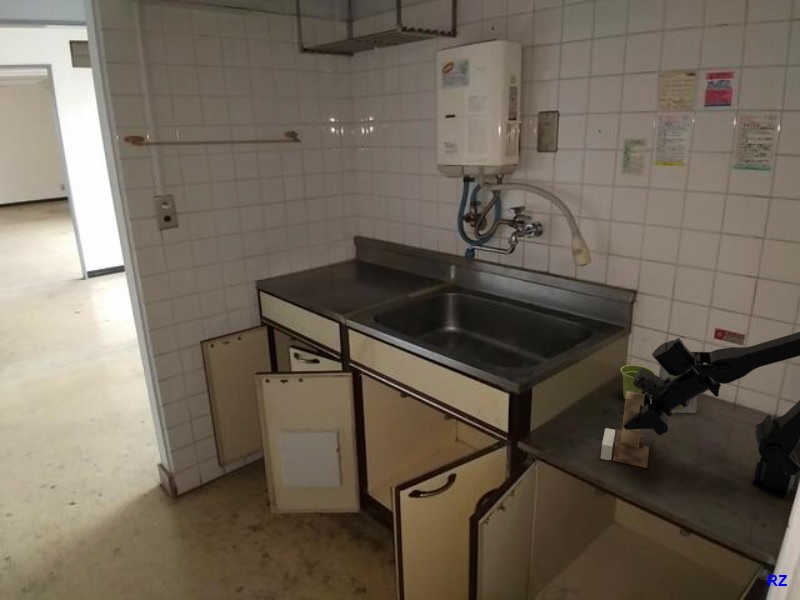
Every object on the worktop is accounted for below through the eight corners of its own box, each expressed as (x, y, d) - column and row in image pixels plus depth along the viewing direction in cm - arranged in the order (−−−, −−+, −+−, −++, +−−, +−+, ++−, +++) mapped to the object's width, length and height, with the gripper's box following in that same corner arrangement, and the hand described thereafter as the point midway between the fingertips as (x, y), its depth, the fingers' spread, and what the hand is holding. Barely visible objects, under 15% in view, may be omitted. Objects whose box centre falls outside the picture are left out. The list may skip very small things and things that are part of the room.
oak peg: (638, 448, 136) (645, 394, 131) (637, 457, 132) (643, 401, 128) (621, 445, 138) (627, 391, 133) (619, 453, 134) (625, 398, 130)
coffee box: (687, 402, 159) (695, 351, 154) (696, 414, 153) (705, 360, 148) (654, 401, 160) (661, 350, 155) (662, 413, 154) (669, 360, 149)
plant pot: (635, 388, 168) (638, 362, 165) (659, 402, 160) (663, 375, 157) (610, 394, 165) (613, 368, 162) (633, 408, 157) (637, 381, 154)
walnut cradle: (648, 450, 137) (650, 436, 136) (647, 468, 130) (649, 453, 129) (615, 443, 140) (617, 429, 139) (612, 460, 133) (614, 446, 132)
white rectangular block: (613, 443, 140) (615, 430, 139) (610, 460, 133) (612, 446, 132) (603, 441, 141) (605, 428, 140) (600, 458, 134) (602, 444, 133)
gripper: (659, 346, 134) (606, 380, 142) (657, 378, 118) (598, 414, 126) (691, 381, 133) (636, 413, 141) (693, 418, 117) (632, 452, 125)
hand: (625, 421), depth 133 cm, fingers open, 5 cm apart
